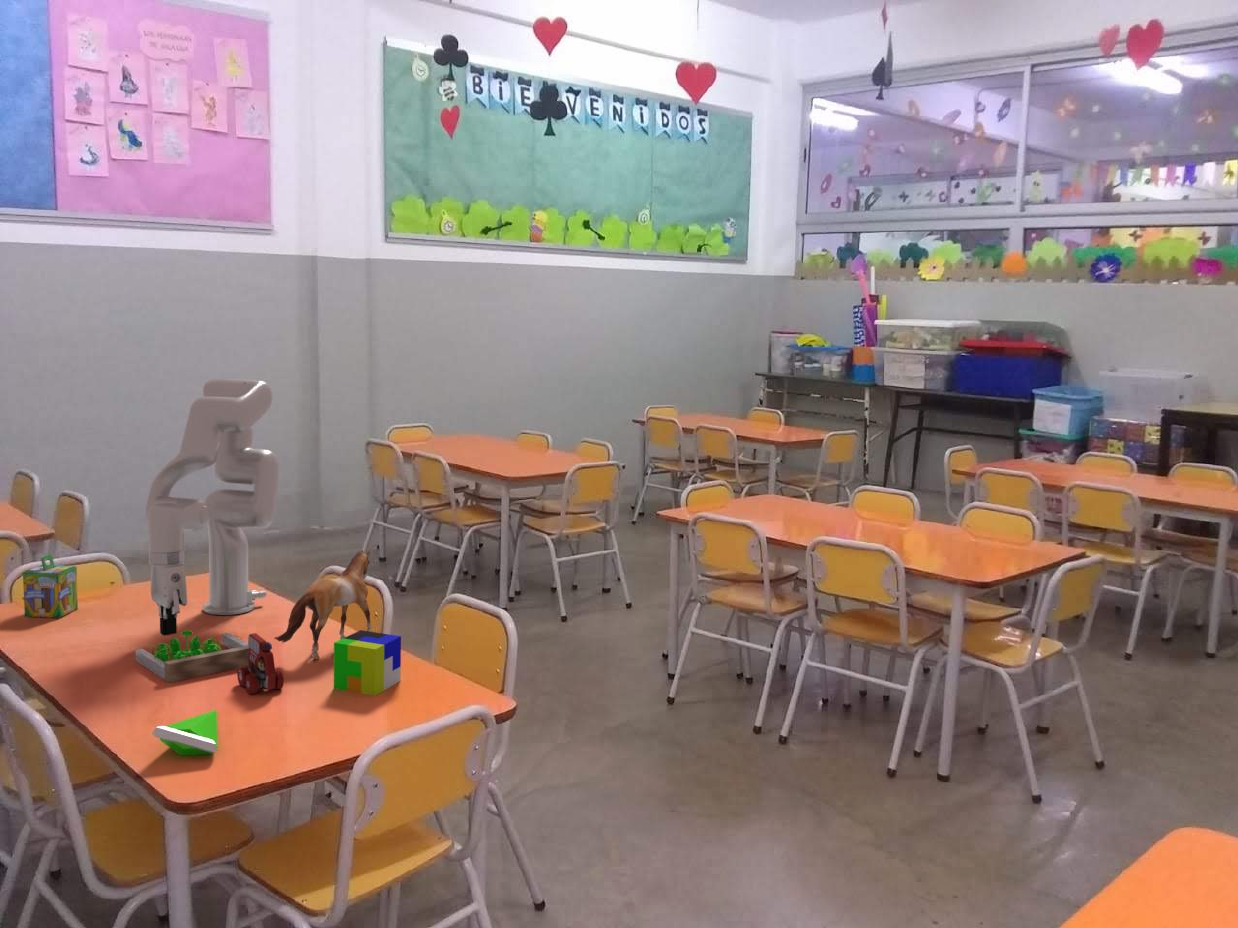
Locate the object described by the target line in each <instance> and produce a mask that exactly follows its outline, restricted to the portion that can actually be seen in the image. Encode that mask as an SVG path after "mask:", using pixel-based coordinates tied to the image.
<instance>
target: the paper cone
mask: <svg viewBox="0 0 1238 928" xmlns="http://www.w3.org/2000/svg"><path fill="white" fill-rule="evenodd" d="M152 735H153V736H154V737H155V738H157V739H159V740H160V741H161V743H163V744H164V745H166V746H167V747H168V748H170V749H171V750H173V752H175V753H177V754H179V755H180V756H194V755H195V756H197V755H198V756H199V755H201V756H202V755H211V754H213V753H216V752H217V749H218V747H219V746H218V744H219V743H218V711H217V710H216V709H215V710H211V711H207V712H205V713H202V714H199V715H195V716H193V717H190V718H186V719H183V720H181V721H178V722H174V723H171V724H168V725H166V726H164V725H160V726H156V727H155V728H154V729H153V731H152Z"/></svg>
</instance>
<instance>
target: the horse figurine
mask: <svg viewBox="0 0 1238 928" xmlns="http://www.w3.org/2000/svg"><path fill="white" fill-rule="evenodd" d="M370 554H371V553H370V551H369V550H367V552H366V553H365V552H364V550H360V551H358V552H357V553H356V554H355V555H354V556H353V557H352V559H351V560H350V563H349V564H348V565H347V567H346V568H345V569H344V570H343V571H341V572H342V573H341V574H340V575H339V576H338V577H337V578H319V579H317V580H315V581H314V582H312V583H311V584H310V586H309V587H308V588H307V590H306V592H305V593H304V594H303V595H302V596H301V597H300V598H299V599H298V600H297V602H295V604H294V606H293V607H292V609H291V612H290V615H289V619H288V625H287V628H286V630H285V632H284V633H282V634H280V635H279V636H275V637H274V638H273V639H274V640H276V641H278V642H281V643H283V644H284V643H286V642H288V641H290V640H291V639H292V638H293V636H294V634H295V633H296V632H297V631H298V630H299V629H300V628H301V627H302V625H303V623H304V621H305V618H306V612H307V610H306V607H308V608H309V609H310V610H311V611H312V614H311V621H310V623H309V628H310V631H311V634H312V640H313V643H312V647H311V651H312V652H313V653H312V654H311V658H312V659H314V660H319V659H320V654H319V652H318V651H319V646H320V645H319V639H320V638H319V637H320V634H321V632H322V630H323V629H324V628H325V626H326V624H327V622H328V619H329V617H330V615H331V614H332V613H333V611H334V607H341V616H340V622H341V623H340V624H341V625H340V628H339V629H340V630H339V635H340V637H339V640H341V639H343V638H345V637H347V636H346V635H345V623H346V621H347V611H348V607H349V605H350V604H354V603H355V604H356V605H357V606H358V607H359V608H360V610H361V611H362V612H363V613H364V617H365V619H366V623H367V624H366V629H365V631H370V632H372V630H371V628H372V624H371V623H372V622H371V612H370V608H369V604H368V600H367V597H368V594H369V589H368V587H367V585H366V583H365V581H364V580H365V579H366V578H367V577H368V575H369V574H368V567H369V564H370V562H371V561H370V560H369V556H370Z"/></svg>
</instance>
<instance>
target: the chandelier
mask: <svg viewBox="0 0 1238 928" xmlns="http://www.w3.org/2000/svg"><path fill="white" fill-rule="evenodd" d="M192 635H193V631H191V630H183V631H181V636H184V637H185V644H186V645H185V650H182V646H181V642H180V641H179V639H178V638H177V637H174V638H171V639H170V642H169V645H168V644H167V643H164V642H163V643H161V642H160V643H158V644H156V645H155V646H153V648H152V650H151V654H152V655H154V657H157V658H158V659H160V660H161V661H163V662H166V661H171V660H176V659H181V658H186V657H192V656H197V655H202V654H207V653H212V652H217V651H223V650H222V648H221V647H220V643H219V641H218V640H217V639H215V638H208V639H206V640H204V641H203V642H202V644H201V642H200V639H199V636H198V635H197V636H196V635H194V636H193V637H192V639H191V640H190V642H189V636H192ZM213 641H215V642H216V643H215V642H213ZM158 646H159V647H158ZM156 647H157V650H156V653H154V651H155V649H156ZM168 651H169V652H168Z"/></svg>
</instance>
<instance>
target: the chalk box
mask: <svg viewBox="0 0 1238 928" xmlns="http://www.w3.org/2000/svg"><path fill="white" fill-rule="evenodd" d="M40 561H41V564H40V565H38V566H35V567H32V568H29V569H27V570H25V571H23V572H22V581H23V584H22V585H23V600H24V601H23V603H24V605H23V606H24V617H25V618H55V619H56V618H58V619H60V618H62V617H64V616H66V615H69V614H71V613H72V612H74V611H77V610H78V609H79V607H78V606H79V605H78V577H77V576H78V572H77V571H78V569H77V566H75V565H64V564H63V565H62V564H55V562H54V558H53V556H52V554H51V553H49V554H45V555H44V556H41V558H40ZM46 561H49V562H50V563H49V564H47V563H46Z"/></svg>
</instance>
